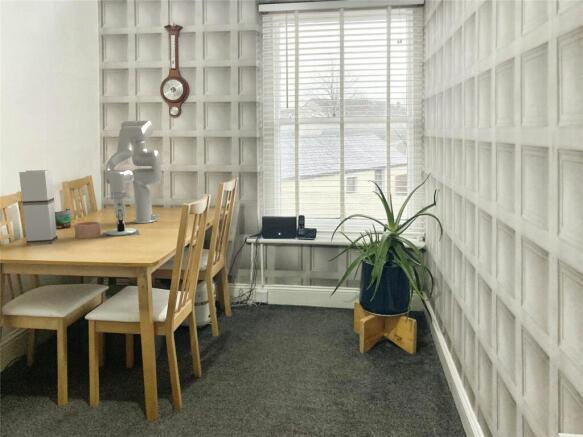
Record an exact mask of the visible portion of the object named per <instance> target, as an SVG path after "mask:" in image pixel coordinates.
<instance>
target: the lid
mask: <svg viewBox="0 0 583 437" xmlns="http://www.w3.org/2000/svg"><path fill="white" fill-rule="evenodd" d="M123 222H124V229H125V231H121V232H118V221H117V220H116V228H113V229H109V230H106V231H105V232H106V234H107V235H111V236H119V235H128V234H133V233H135V232H136V230H137V228H133V227H126V224H125V220H123ZM122 224H123V223H122ZM119 237H120V236H119Z"/></svg>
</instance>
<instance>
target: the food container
mask: <svg viewBox="0 0 583 437" xmlns="http://www.w3.org/2000/svg"><path fill="white" fill-rule="evenodd" d="M71 217H72V210H71V209H70V208H65V210H60V211H55V222H56V230H64V229H65V228H66V229H70V228H71V226H72V223H71V222H72V221H71V220H72V218H71Z"/></svg>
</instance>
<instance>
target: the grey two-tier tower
mask: <svg viewBox="0 0 583 437" xmlns="http://www.w3.org/2000/svg"><path fill="white" fill-rule="evenodd" d="M18 175H19V182H20V184H19V185H20V192H21V193H20V194H21V203H22V204H21V205H22V210H23V211H22V212H23V221H24V230H25V231H24V232H25V240H26V246H32V245H31V244H39V245H53V244H54V243H55V242H57V241H58V240H59V238H58V235H57V234H58V232H57V229H56V222H55V212H56V211H55V197H54V186H53V185H54V184H53V175H52V169H36V170H33V169H31V170H25V171H19V172H18ZM56 240H57V241H56ZM53 242H54V243H53Z"/></svg>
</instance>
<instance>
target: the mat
mask: <svg viewBox="0 0 583 437" xmlns="http://www.w3.org/2000/svg"><path fill="white" fill-rule="evenodd" d="M140 235H141V232H140V231H139V229H136V232H135V233H133V234H128V235H119V236H111V235H107V234H106V231H104V232H102V238H103V239H104V238H107V239H108V238H119V237H128V236H129V237H130V236H140Z"/></svg>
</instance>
